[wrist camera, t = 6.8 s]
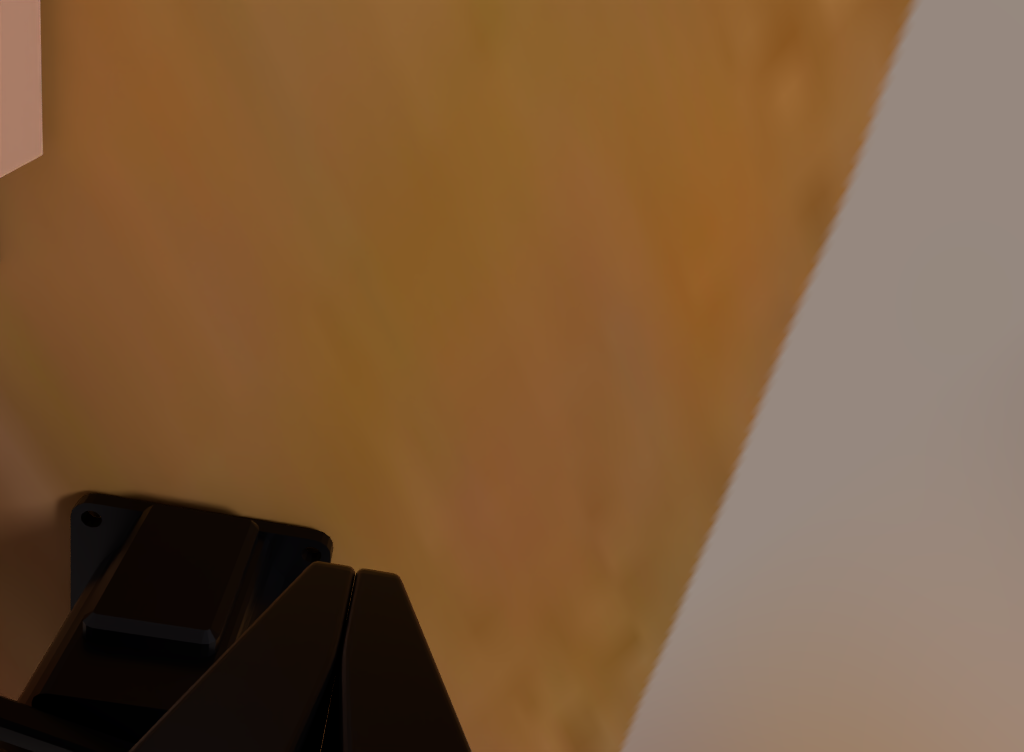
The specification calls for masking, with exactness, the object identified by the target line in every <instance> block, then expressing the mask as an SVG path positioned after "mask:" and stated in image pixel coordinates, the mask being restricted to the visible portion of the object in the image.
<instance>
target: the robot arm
mask: <svg viewBox="0 0 1024 752" xmlns="http://www.w3.org/2000/svg"><path fill="white" fill-rule="evenodd" d="M88 511H93V512H96V513H98V514H99V515H100V516H101V517H100V518H97V517H95V516H92V515H91V514H90V513H89V512H88ZM307 547H313V548H316V549H318V550H319V551H320V552H318V553H312V552H310V551H308V550H307V549H306V548H307ZM332 552H333V542H332V540H331V539H330V537H329V536H328V535H326V534H325V533H323V532H320V531H317V530H312V529H306V528H300V527H294V526H288V525H282V524H276V523H270V522H264V521H258V520H252V519H246V518H240V517H234V516H228V515H222V514H216V513H210V512H204V511H198V510H192V509H186V508H180V507H174V506H168V505H162V504H156V503H150V502H144V501H138V500H132V499H126V498H120V497H114V496H108V495H102V494H88V495H85V496H83V497H82V498H81V499H80V500H79V501H78V502H77V504H76V505H75V507H74V508H73V510H72V513H71V612H70V614H69V615H68V617H67V619H66V621H65V622H64V624H63V626H62V627H61V629H60V631H59V632H58V634H57V636H56V637H55V639H54V641H53V642H52V644H51V646H50V647H49V649H48V651H47V652H46V654H45V656H44V657H43V659H42V661H41V662H40V664H39V666H38V667H37V669H36V671H35V672H34V674H33V676H32V677H31V679H30V681H29V682H28V684H27V686H26V688H25V689H24V691H23V693H22V694H21V696H20V698H19V699H18V701H14V700H12V699H9V698H6V697H3V696H0V752H320V750H321V752H471V749H470V747H469V744H468V742H467V739H466V737H465V734H464V732H463V730H462V727H461V725H460V722H459V720H458V717H457V715H456V712H455V710H454V708H453V705H452V703H451V700H450V698H449V695H448V693H447V690H446V688H445V685H444V683H443V681H442V678H441V676H440V673H439V671H438V668H437V666H436V663H435V661H434V659H433V656H432V654H431V651H430V649H429V646H428V644H427V641H426V639H425V636H424V634H423V632H422V629H421V627H420V624H419V622H418V619H417V617H416V614H415V612H414V610H413V607H412V605H411V602H410V600H409V597H408V595H407V592H406V590H405V587H404V585H403V583H402V581H401V579H400V577H399V576H398V575H396V574H394V573H388V572H382V571H376V570H370V569H360V570H359V571H358V572H357V573H356V575H355V571H354V569H353V568H352V567H350V566H346V565H339V564H333V563H331V558H332ZM354 578H355V580H354ZM353 583H354V585H353ZM352 588H353V590H352ZM351 593H352V595H351ZM350 598H351V600H350ZM349 603H350V605H349ZM348 609H349V610H348ZM347 614H348V615H347ZM346 619H347V620H346ZM345 624H346V625H345ZM333 685H334V686H333ZM332 690H333V691H332ZM331 695H332V696H331ZM330 700H331V701H330ZM329 705H330V706H329ZM328 710H329V711H328ZM327 715H328V717H327ZM326 720H327V722H326ZM325 725H326V727H325ZM324 730H325V732H324ZM323 735H324V737H323ZM322 740H323V743H322ZM321 745H322V748H321Z"/></svg>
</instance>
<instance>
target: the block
mask: <svg viewBox="0 0 1024 752" xmlns="http://www.w3.org/2000/svg"><path fill="white" fill-rule="evenodd" d="M41 155H43V141H42V80H41V18H40V0H0V178H1V177H3V176H5V175H6V174H8V173H10V172H12V171H14V170H16V169H17V168H19V167H21V166H23V165H25V164H27V163H29V162H30V161H32V160H34V159H36V158H38V157H40V156H41Z"/></svg>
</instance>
